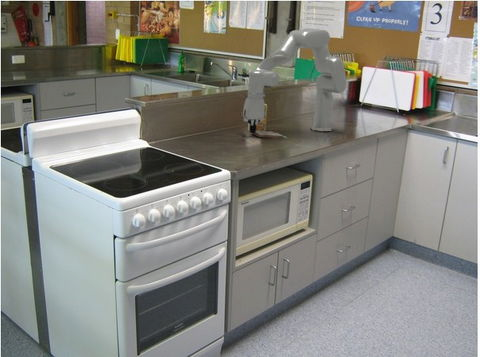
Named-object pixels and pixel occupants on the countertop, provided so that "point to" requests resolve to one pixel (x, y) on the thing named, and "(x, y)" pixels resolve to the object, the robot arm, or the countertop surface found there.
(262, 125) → the candy box
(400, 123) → the countertop surface
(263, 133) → the walnut board
